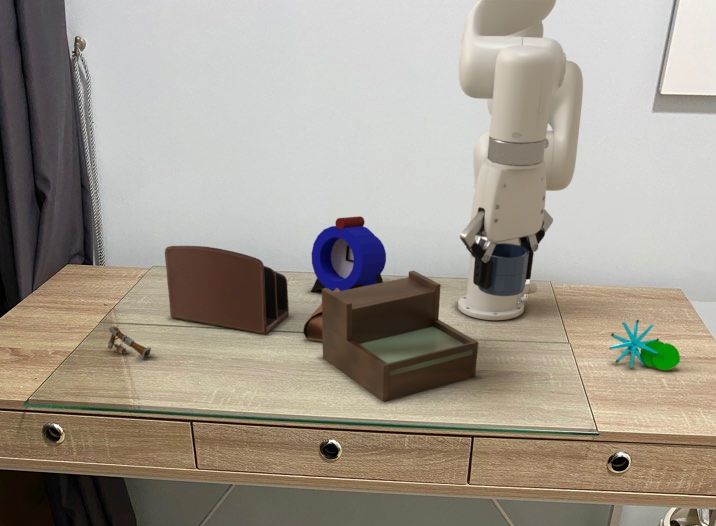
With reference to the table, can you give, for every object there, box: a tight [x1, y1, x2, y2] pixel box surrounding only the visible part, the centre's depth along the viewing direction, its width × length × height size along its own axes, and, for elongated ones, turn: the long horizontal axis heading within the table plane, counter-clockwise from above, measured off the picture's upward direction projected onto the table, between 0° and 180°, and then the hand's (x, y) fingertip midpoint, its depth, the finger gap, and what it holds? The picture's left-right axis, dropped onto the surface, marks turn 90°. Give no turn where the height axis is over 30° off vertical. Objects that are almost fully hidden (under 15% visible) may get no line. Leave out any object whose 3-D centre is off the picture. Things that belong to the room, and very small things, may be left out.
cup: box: [478, 243, 529, 296], centre depth 126 cm, size 7×7×6 cm
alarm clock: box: [310, 216, 387, 293], centre depth 169 cm, size 12×12×15 cm
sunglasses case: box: [302, 288, 340, 343], centre depth 158 cm, size 18×7×7 cm
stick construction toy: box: [608, 319, 681, 371], centre depth 146 cm, size 12×7×8 cm
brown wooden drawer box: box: [321, 270, 479, 402], centre depth 141 cm, size 19×18×12 cm
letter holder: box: [164, 245, 290, 336], centre depth 157 cm, size 10×20×14 cm, turn 68°
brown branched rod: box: [107, 325, 152, 361], centre depth 147 cm, size 2×8×4 cm, turn 66°
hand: (501, 280), depth 127 cm, fingers closed on cup, 6 cm apart
